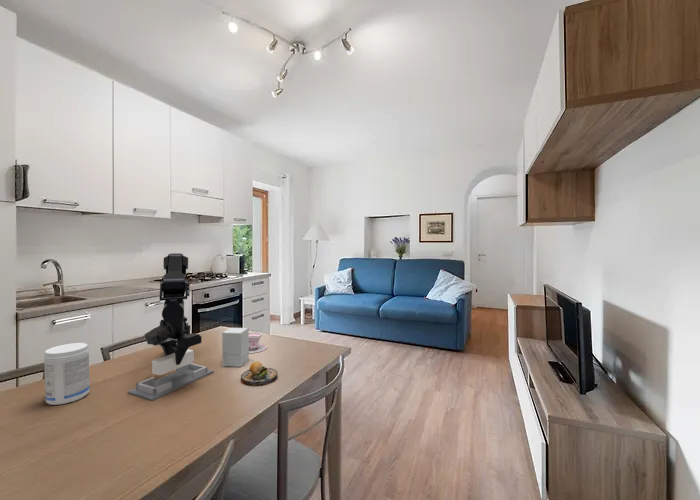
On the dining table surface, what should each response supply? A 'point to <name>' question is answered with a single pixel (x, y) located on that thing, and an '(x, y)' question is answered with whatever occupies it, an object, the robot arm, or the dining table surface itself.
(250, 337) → the teacup
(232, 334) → the supplement box
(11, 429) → the dining table surface
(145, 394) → the grey bracket base
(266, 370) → the burger
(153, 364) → the slat
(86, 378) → the supplement tub
